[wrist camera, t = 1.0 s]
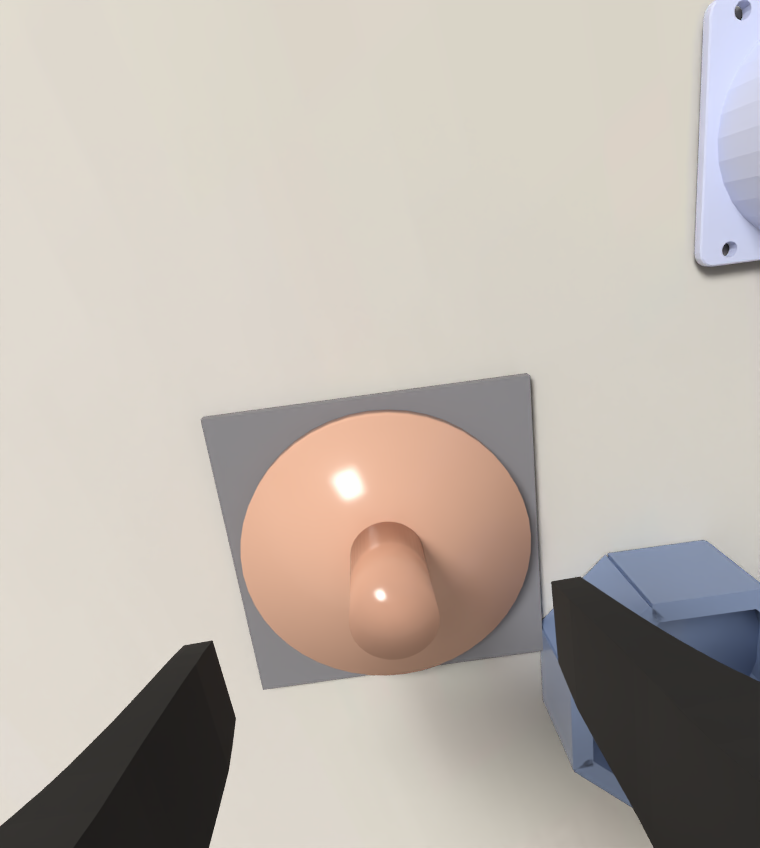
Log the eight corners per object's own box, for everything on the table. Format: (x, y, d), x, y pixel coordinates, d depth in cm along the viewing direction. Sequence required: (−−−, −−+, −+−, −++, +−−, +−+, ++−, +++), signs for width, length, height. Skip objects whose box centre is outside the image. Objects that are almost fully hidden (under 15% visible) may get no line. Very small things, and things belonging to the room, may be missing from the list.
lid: (516, 390, 20) (565, 429, 15) (531, 642, 23) (575, 737, 18) (217, 431, 20) (175, 482, 15) (272, 677, 23) (252, 782, 18)
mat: (526, 373, 20) (529, 375, 20) (540, 644, 24) (543, 650, 23) (203, 416, 20) (200, 419, 20) (264, 682, 23) (262, 689, 23)
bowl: (775, 530, 23) (849, 577, 19) (757, 722, 25) (819, 791, 22) (535, 563, 22) (568, 616, 19) (545, 752, 25) (574, 826, 22)
